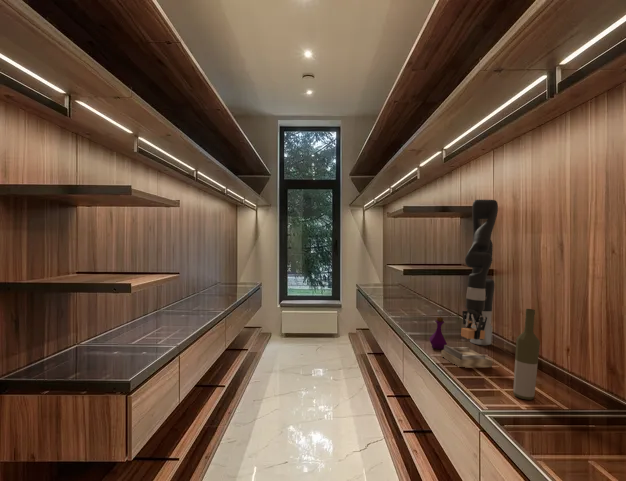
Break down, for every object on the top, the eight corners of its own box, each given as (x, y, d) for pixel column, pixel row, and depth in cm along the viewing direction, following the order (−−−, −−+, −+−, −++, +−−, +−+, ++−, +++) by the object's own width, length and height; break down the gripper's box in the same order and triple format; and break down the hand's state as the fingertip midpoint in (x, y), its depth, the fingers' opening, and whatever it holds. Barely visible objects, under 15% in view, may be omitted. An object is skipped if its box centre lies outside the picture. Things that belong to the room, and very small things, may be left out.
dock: (470, 356, 179) (471, 344, 179) (491, 367, 166) (492, 354, 166) (441, 356, 176) (441, 344, 176) (459, 367, 162) (460, 354, 162)
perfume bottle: (446, 351, 185) (449, 312, 185) (429, 349, 187) (432, 311, 187) (444, 346, 193) (447, 309, 192) (428, 344, 194) (431, 308, 194)
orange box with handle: (476, 337, 174) (477, 326, 174) (484, 340, 170) (485, 329, 170) (460, 337, 173) (461, 326, 172) (467, 340, 168) (468, 328, 168)
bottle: (526, 393, 139) (533, 307, 138) (540, 401, 132) (547, 312, 132) (507, 392, 138) (514, 307, 138) (520, 401, 131) (527, 311, 131)
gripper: (494, 301, 165) (491, 342, 165) (472, 295, 179) (469, 333, 179) (478, 300, 163) (475, 342, 163) (458, 295, 177) (455, 333, 177)
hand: (472, 337), depth 171 cm, fingers closed on orange box with handle, 5 cm apart
